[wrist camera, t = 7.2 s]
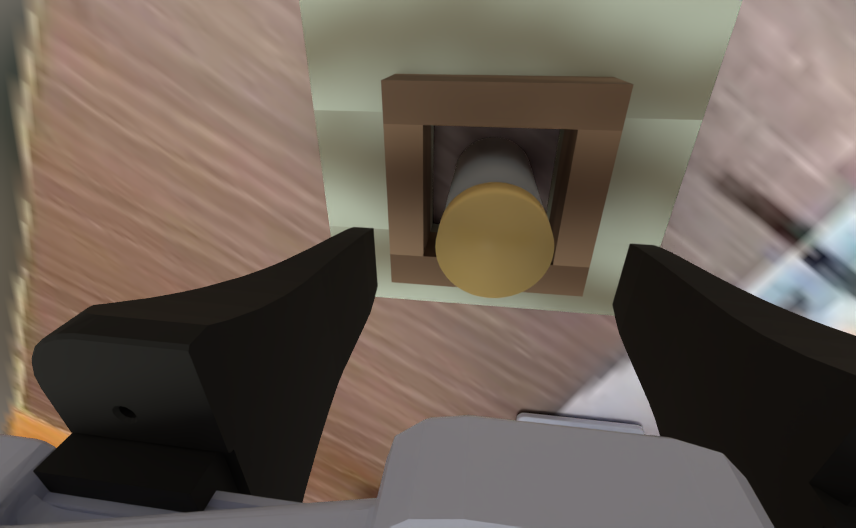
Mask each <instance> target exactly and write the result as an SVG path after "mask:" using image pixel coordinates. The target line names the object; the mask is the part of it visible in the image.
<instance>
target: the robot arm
mask: <svg viewBox="0 0 856 528" xmlns="http://www.w3.org/2000/svg"><path fill="white" fill-rule="evenodd" d="M377 288H378V282H377V268H376V254H375V240H374V228H364V227H352V228H349V229H347V230H344V231H342V232H340V233H338V234H336V235H334V236H333V237H331V238H329V239H327V240H325V241H323V242H321V243H319V244H317V245H315V246H313V247H312V248H310V249H308V250H306V251H303V252H301V253H299V254H297V255H295V256H293V257H291V258H289V259H286V260H284V261H282V262H280V263H278V264H275V265H273V266H270V267H268V268H265V269H262V270H260V271H257V272H254V273H251V274H248V275H245V276H242V277H239V278H236V279H232V280H228V281H225V282H221V283H218V284H214V285H211V286H207V287H203V288H199V289H194V290H190V291H185V292H180V293H175V294H169V295H164V296H158V297H152V298H146V299H138V300H131V301H123V302H116V303H108V304H99V305H93V306H90V307H89V308H87V309H85V310H84V311H82V312H81V313H80V314H78V315H77V316H75V317H74V318H72V319H71V320H69V321H68V322H66V323H65V324H63V325H62V326H61V327H59V328H58V329H56V330H55V331H53V332H52V333H50V334H49V335H47V336H46V337H45V338H43V339H42V340H41V341H40V342H39V343H38V344H37V345H36V346H35V348H34V352H33V355H32V366H33V371H34V376H35V377H36V379H37V381H38V383H39V385H40V387H41V389H42V390H43V392H44V393H45V395H46V396H47V397H48V399H49V400H50V402H51V403H52V405H53V406H54V408H55V409H56V411H57V412H58V413H59V415H60V416H61V418H62V419H63V421H64V422H65V424H66V425H67V427H68V428H69V430H70V431H71V432H72V434H71V435H70V436H69V437H68V438H67V439H66V440H65V441H64V442H63V443H62V444H60V445H59V446H58V447H57V448H55V447H54V446H52V445H51V444H49V443H47V442H45V441H42V440H38V439H33V438H26V437H18V436H11V435H4V434H0V528H856V336H855V335H852V334H849V333H846V332H843V331H840V330H837V329H834V328H831V327H829V326H826V325H823V324H820V323H818V322H815V321H812V320H810V319H807V318H805V317H803V316H800V315H798V314H795V313H793V312H790V311H788V310H785V309H783V308H780V307H778V306H776V305H774V304H771V303H769V302H767V301H765V300H762V299H760V298H758V297H756V296H754V295H752V294H750V293H748V292H746V291H744V290H742V289H740V288H737V287H736V286H734V285H732V284H730V283H728V282H726V281H724V280H722V279H720V278H718V277H716V276H714V275H712V274H711V273H709V272H707V271H705V270H703V269H701V268H699V267H698V266H696V265H694V264H692V263H690V262H688V261H687V260H685V259H683V258H681V257H679V256H677V255H675V254H673V253H671V252H669V251H667V250H665V249H663V248H660V247H658V246H655V245H646V244H630V245H629V248H628V251H627V255H626V258H625V262H624V265H623V269H622V272H621V276H620V279H619V283H618V286H617V290H616V293H615V297H614V300H613V304H612V306H613V310H614V315H615V319H616V323H617V327H618V330H619V334H620V337H621V339H622V341H623V344H624V346H625V349H626V351H627V353H628V356H629V358H630V360H631V363H632V365H633V367H634V369H635V372H636V374H637V376H638V379H639V381H640V383H641V385H642V388H643V390H644V392H645V395H646V397H647V399H648V401H649V404H650V407H651V409H652V412H653V415H654V417H655V420H656V424H657V427H658V430H659V434H660V436H652V435H644V431H643V429H642V427H641V426H639V425H634V424H625V423H616V422H607V421H597V420H588V419H579V418H570V417H561V416H551V415H542V414H533V413H520V414H519V415H517V419H516V420H509V419H500V418H491V417H482V416H473V415H463V416H448V417H433V418H428V419H425V420H423V421H421V422H419V423H418V424H416V425H414V426H412V427H411V428H409V429H407V430H405V431H403V432H402V433H400V434H398V435H396V436H395V438H394V441H393V443H392V446H391V449H390V452H389V454H388V457H387V460H386V464H385V468H384V472H383V476H382V480H381V485H380V489H379V493H378V497H377V498H370V499H357V500H344V501H330V502H317V503H302V502H303V498H304V494H305V490H306V486H307V483H308V479H309V476H310V472H311V469H312V465H313V462H314V458H315V455H316V451H317V448H318V444H319V441H320V438H321V435H322V431H323V428H324V425H325V422H326V419H327V415H328V412H329V409H330V406H331V403H332V400H333V397H334V394H335V391H336V388H337V385H338V383H339V380H340V378H341V375H342V373H343V370H344V368H345V366H346V364H347V362H348V360H349V358H350V355H351V353H352V351H353V349H354V347H355V345H356V343H357V341H358V338H359V336H360V334H361V332H362V330H363V328H364V325H365V323H366V321H367V319H368V317H369V314H370V312H371V309H372V305H373V302H374V299H375V295H376V291H377Z"/></svg>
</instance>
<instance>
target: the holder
mask: <svg viewBox="0 0 856 528" xmlns="http://www.w3.org/2000/svg"><path fill="white" fill-rule="evenodd" d="M741 3H742V0H299V4H300V11H301V18H302V26H303V33H304V41H305V48H306V55H307V63H308V70H309V78H310V85H311V92H312V100H313V107H314V115H315V122H316V129H317V137H318V144H319V152H320V159H321V166H322V174H323V181H324V189H325V196H326V203H327V211H328V218H329V226H330V233H331V237H333V236H334V235H336V234H338V233H340V232H342V231H344V230H347V229H349V228H352V227H364V228H374V240H375V254H376V268H377V282H378V288H377V291H376V295H375V297H386V298H399V299H411V300H424V301H437V302H449V303H462V304H474V305H487V306H499V307H512V308H525V309H537V310H550V311H562V312H575V313H588V314H600V315H613V316H615V315H614V310H613V306H612V304H613V300H614V297H615V293H616V290H617V286H618V283H619V279H620V276H621V272H622V269H623V265H624V262H625V258H626V255H627V251H628V248H629V245H630V244H646V245H655V246H658V247H660V245H661V242H662V239H663V236H664V233H665V231H666V228H667V225H668V222H669V219H670V216H671V213H672V210H673V207H674V204H675V201H676V198H677V195H678V192H679V189H680V186H681V183H682V180H683V177H684V174H685V171H686V168H687V165H688V162H689V159H690V156H691V153H692V150H693V147H694V144H695V141H696V138H697V135H698V132H699V129H700V126H701V123H702V120H703V117H704V114H705V111H706V108H707V105H708V102H709V99H710V96H711V93H712V90H713V87H714V84H715V81H716V78H717V75H718V72H719V69H720V66H721V63H722V60H723V57H724V54H725V51H726V48H727V45H728V42H729V39H730V36H731V33H732V30H733V27H734V24H735V21H736V18H737V15H738V12H739V9H740V6H741ZM434 125H438V126H472V127H506V128H540V129H560V133H559V139H558V145H557V151H556V158H555V164H554V170H553V176H552V182H551V188H550V194H549V200H548V206H547V212H546V214H547V217H548V220H549V223H550V226H551V229H552V233H553V237H554V254H553V258H552V261H551V264H550V266H549V268H548V270H547V271H546V273H545V274H544V275H543V277H542V278H541V279H540V280H539V281H538V282H537V283H536V284H534V285H533V286H532V287H530V288H529V289H527V290H525V291H523V292H521V293H519V294H516V295H513V296H509V297H504V298H485V297H480V296H475V295H472V294H470V293H467V292H465V291H463V290H461V289H460V288H458V287H457V286H455V285H454V284H453V283H452V282H451V281H450V280H449V279H448V278H447V277H446V276H445V274H444V273H443V271H442V270H441V268H440V266H439V263H438V261H437V257H436V249H435V245H436V237H437V233H438V229H439V225H440V224H433V156H434Z"/></svg>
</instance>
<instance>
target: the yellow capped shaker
mask: <svg viewBox="0 0 856 528" xmlns="http://www.w3.org/2000/svg"><path fill="white" fill-rule="evenodd" d="M435 249H436V257H437V261H438V263H439V266H440V268H441V270H442V271H443V273H444V274H445V276H446V277H447V278H448V279H449V280H450V281H451V282H452V283H453V284H454V285H455V286H457V287H458V288H460V289H461V290H463V291H465V292H467V293H470V294H472V295H475V296H480V297H485V298H504V297H509V296H513V295H516V294H519V293H521V292H523V291H525V290H527V289H529V288H530V287H532V286H533V285H534V284H536V283H537V282H538V281H539V280H540V279H541V278H542V277H543V275H544V274H545V273H546V271H547V270H548V268H549V266H550V264H551V261H552V258H553V254H554V237H553V233H552V229H551V226H550V223H549V220H548V217H547V214H546V212H545V210H544V208H543V206H542V202H541V199H540V196H539V192H538V189H537V186H536V182H535V179H534V176H533V172H532V169H531V166H530V162H529V160H528V157H527V156H526V154H525V152H524V151H523V150H522V149H521V148H520V147H519V146H518V145H517V144H515V143H514V142H512V141H510V140H507V139H504V138H500V137H489V138H484V139H481V140H478V141H476V142H474V143H473V144H471V145H470V146H468V147H467V148H466V149H465V150H464V151H463V153H462V154H461V155H460V157H459V159H458V161H457V164H456V167H455V171H454V175H453V179H452V183H451V187H450V191H449V195H448V199H447V203H446V207H445V211H444V213H443V215H442V218H441V221H440V225H439V229H438V233H437V237H436V245H435Z"/></svg>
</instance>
